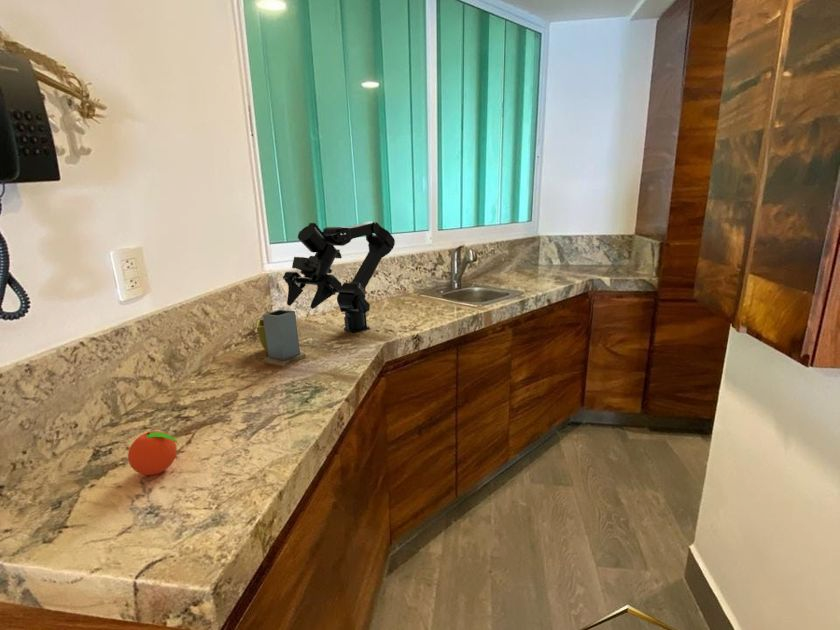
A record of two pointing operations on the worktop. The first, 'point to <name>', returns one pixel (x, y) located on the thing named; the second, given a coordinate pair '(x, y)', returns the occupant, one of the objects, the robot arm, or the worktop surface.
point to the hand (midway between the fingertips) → (299, 306)
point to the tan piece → (284, 363)
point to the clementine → (152, 453)
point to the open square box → (281, 334)
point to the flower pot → (262, 334)
